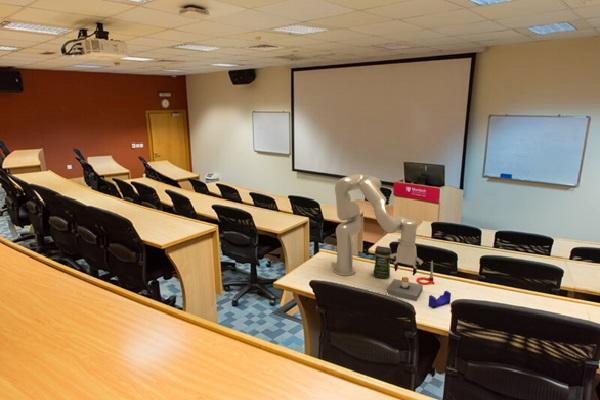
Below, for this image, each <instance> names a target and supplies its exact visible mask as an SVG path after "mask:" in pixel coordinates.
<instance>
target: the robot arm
mask: <svg viewBox="0 0 600 400" xmlns="http://www.w3.org/2000/svg"><path fill="white" fill-rule="evenodd" d="M381 188H382V181H381V180H380V179H379V178H378V177H376V176H373V175H372V176H371V175H366V174H362V173H361V174H360V173H358V174H357V173H356V174H352V175H347V176H344V177H342V178H340V179H338V180H337V181H336V183H335V185H334V192H335V198H336V199H335V200H336V201H335V203H336V215H337V218H338V220H340V221H341V223H340V224H338V225H337V226H336V228H335V234H336V262H333V261H332V262H331V263H330V265H331V268H332V267H333V268H334V273H335V274H336V275H339V276H345V277H346V276H352V275H354V274H355V271H356V269H355V267H353V264H354V263H353V261H354V260H353V259H354V256H353V255H354V242H353V240H352V237H353V236H355V235H357V234H359V233H360V232H361V229H362V220H361V219H362V218H361V217H362V216H361V208H360V206H359V205H358V204H357V203H356V202H354V201H351V199H352V198H351V194H350V193H349V192H351V191H354V190H358V189H359V191H360V192H361V193H362V194H363V196H364V198H366V200H367V201H368V202H369V204H370V205H371V206H372V208H373V212H374V216H375V219H376V221H377V223H378V224H379V226H380V227H381V228H382V229H383V231H385V232H386V233H387V234H395V233H397V232H399V231H401V233H400V238H397V242H398V246H397V249H396V252H395V253H391V255H390V261H392V263H393V269H394V271H395V272H397V271H398V268H399V266H398V265H399V263H400V264H403V265H408V266H412V268H413V269H412V276H415V275H416V274H417V273H418V270H417V269H418V268H420V267H421V265H422V264H423V263H424V261H423V260H422V259H420V258H419V257H418V255H417V245H416V239H417V231H418V230H417V229H418V227H417V226H418V223H417V221H416V220H414V219H409V218H405V217H404V216H401V215H396V216H394V217H390V215H388V213H387V211H386V202H387V198H386V196H385V195H384V194H383V193H382V191H381ZM342 221H343V222H342ZM417 262H418V263H417Z"/></svg>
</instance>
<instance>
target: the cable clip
mask: <svg viewBox="0 0 600 400" xmlns="http://www.w3.org/2000/svg"><path fill="white" fill-rule="evenodd" d="M451 297H452V293H451V292H450V291H448V290H444V293H443V294H441V295H439V296H438V298H436V296H433V295H432V294H431V295H429V296H428V307H429V308H431V309H436V308H439V307H443V306H447V305H449V304H451Z"/></svg>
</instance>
